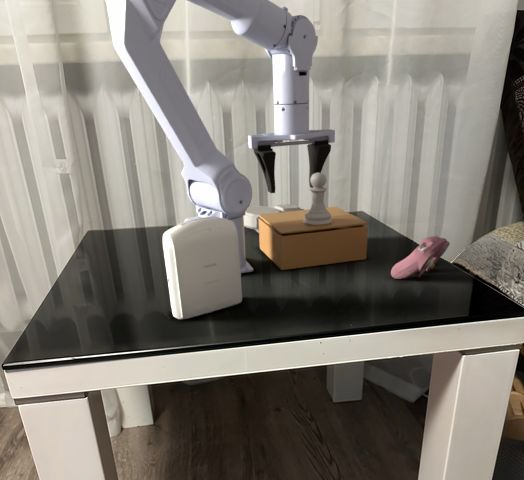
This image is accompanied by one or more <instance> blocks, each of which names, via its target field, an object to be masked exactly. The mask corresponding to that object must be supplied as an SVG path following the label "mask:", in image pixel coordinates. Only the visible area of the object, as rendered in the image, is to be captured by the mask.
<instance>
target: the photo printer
mask: <svg viewBox="0 0 524 480" xmlns="http://www.w3.org/2000/svg"><path fill="white" fill-rule="evenodd" d="M162 249H163V258H164V264H165V271H166V278H167V285H168V293H169V301H170V307H171V313H172V317H174V318H175V319H177V320H187V319H191V318H194V317H199V316H202V315H205V314H209V313H213V312H216V311H219V310H223V309H225V308H229V307H232V306H236V305H238V304H241V302H242V301H243V288H242V286H243V285H242V273H241V270H240V256H239V242H238V233H237V229H236V226H235V224H234V223H233V221H230V220H228V219H225V218H219V217H203V218H197V219H192V220H189V221H186V222H185V221H183V222H180V223H178V224H176V225H174V226H172V227H170V228H169V229H167V230H166V231H164V233H162Z"/></svg>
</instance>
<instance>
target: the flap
mask: <svg viewBox="0 0 524 480" xmlns="http://www.w3.org/2000/svg"><path fill="white" fill-rule="evenodd" d="M325 208H326V209H327V211H328V212H329V213H330V214H331V216H339V215H348V214H350V212H348V211H345V210H344V209H342V208H340V207H338V206H328V207H325ZM310 209H311V208H308V209H304V210H299V211H289V212H280V213H270V214H261V215H259V217H260V218H262V219H263V220H264V221H265V222H266V223H267V224H269V223H275V222H284V221H293V220H303V219H305V214H306V213H307V212H308V211H309V210H310Z"/></svg>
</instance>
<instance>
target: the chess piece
mask: <svg viewBox="0 0 524 480" xmlns="http://www.w3.org/2000/svg"><path fill="white" fill-rule="evenodd" d="M310 180H311V184H312V186H313V188H311V187H310V188H309V189H308V190H309V191H310V192H311V197H312V203H311V206H310V208H309V209H310V210H309V211H308V212H307V213H306V214H305V219H304V223H305V224H307V225H312V226H323V225H328V224H330V223H331V222H332V219H331V218H330V217H331V214H330V213H329V212H328V211H327V209H326V208H327V207H326V205H325V202H324V201H325V192H326V191H327V190H328V188H327V187H324V186H325V185H326V183H327V176H326V174H325V173H322V172H321V173H319V172H318V173H315V174H313V175H312V176H311V179H310Z"/></svg>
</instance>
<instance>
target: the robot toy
mask: <svg viewBox="0 0 524 480" xmlns="http://www.w3.org/2000/svg"><path fill="white" fill-rule="evenodd" d="M299 210H305V208H301V207H299V206H298V205H295V204H288V203H287V204H278V205H275V206H274V207H270V206H266V205H258V204H255V205H249V207H248V208H247V210H246V211H245V214H246V215H244V228H247V229H250V230H254V231H256V232H257V233H258V234H259V219H260V217H259V215H261V214H270V213H280V212H289V211H299Z"/></svg>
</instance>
